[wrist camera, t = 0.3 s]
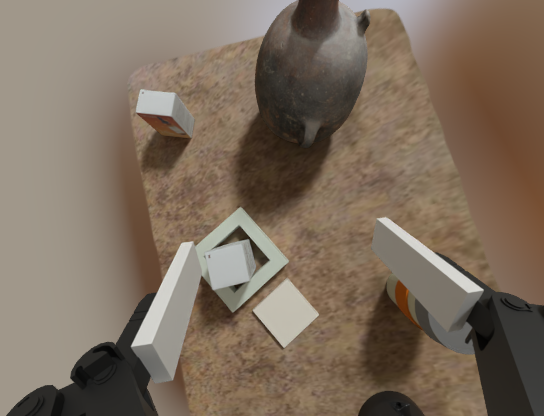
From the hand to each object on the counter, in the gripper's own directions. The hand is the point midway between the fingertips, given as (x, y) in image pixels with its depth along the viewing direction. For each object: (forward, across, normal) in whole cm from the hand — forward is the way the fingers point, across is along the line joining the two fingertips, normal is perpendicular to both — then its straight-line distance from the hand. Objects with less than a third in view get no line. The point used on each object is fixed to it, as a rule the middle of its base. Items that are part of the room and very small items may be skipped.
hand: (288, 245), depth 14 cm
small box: (+48, +20, -6) cm, 52 cm away
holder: (+28, +8, +23) cm, 37 cm away
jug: (+45, -12, -7) cm, 47 cm away
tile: (+20, -2, +34) cm, 40 cm away
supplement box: (+28, +8, +23) cm, 37 cm away
